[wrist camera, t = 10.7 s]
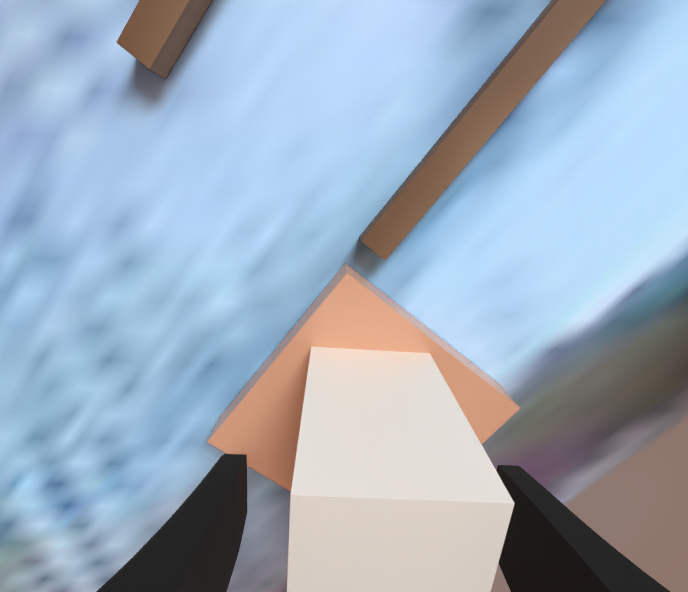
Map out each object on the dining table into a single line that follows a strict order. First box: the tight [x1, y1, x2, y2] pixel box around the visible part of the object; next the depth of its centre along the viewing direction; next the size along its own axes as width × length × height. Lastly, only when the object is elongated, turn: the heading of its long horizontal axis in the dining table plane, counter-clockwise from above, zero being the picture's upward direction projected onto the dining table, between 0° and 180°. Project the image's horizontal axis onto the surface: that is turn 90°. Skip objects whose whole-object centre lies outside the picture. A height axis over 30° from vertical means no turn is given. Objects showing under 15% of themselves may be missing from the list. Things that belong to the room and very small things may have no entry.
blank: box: [287, 347, 515, 592], centre depth 10 cm, size 4×6×6 cm, turn 176°
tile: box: [208, 263, 520, 492], centre depth 14 cm, size 8×8×2 cm
